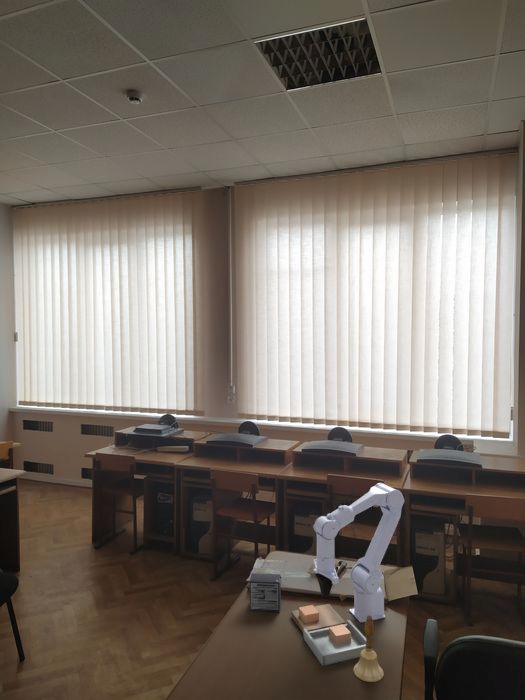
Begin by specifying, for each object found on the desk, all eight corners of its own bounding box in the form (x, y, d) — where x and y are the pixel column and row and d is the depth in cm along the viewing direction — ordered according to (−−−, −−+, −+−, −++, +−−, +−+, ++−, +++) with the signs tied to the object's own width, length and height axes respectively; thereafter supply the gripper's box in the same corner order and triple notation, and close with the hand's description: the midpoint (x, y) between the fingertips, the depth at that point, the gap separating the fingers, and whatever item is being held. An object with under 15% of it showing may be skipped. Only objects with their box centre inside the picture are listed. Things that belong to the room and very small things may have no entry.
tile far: (312, 612, 169) (312, 604, 169) (319, 620, 165) (319, 612, 165) (298, 614, 168) (298, 607, 168) (304, 623, 163) (304, 615, 163)
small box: (281, 602, 180) (281, 573, 179) (280, 612, 173) (280, 582, 173) (251, 601, 181) (251, 572, 180) (249, 611, 174) (249, 581, 174)
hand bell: (383, 664, 145) (383, 609, 145) (384, 684, 137) (384, 626, 137) (353, 661, 147) (353, 606, 147) (353, 680, 139) (353, 622, 138)
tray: (349, 628, 163) (349, 619, 163) (372, 654, 150) (371, 644, 150) (303, 638, 158) (303, 629, 158) (322, 666, 145) (322, 655, 145)
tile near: (343, 631, 161) (343, 624, 161) (350, 640, 156) (350, 632, 156) (329, 635, 159) (329, 627, 159) (336, 644, 154) (336, 636, 154)
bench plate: (329, 609, 175) (329, 603, 175) (345, 628, 163) (345, 622, 163) (291, 616, 170) (291, 611, 170) (305, 637, 159) (305, 630, 159)
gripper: (305, 547, 170) (305, 587, 171) (324, 566, 157) (324, 609, 157) (323, 544, 173) (323, 584, 173) (344, 562, 159) (344, 605, 159)
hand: (325, 596), depth 165 cm, fingers closed
